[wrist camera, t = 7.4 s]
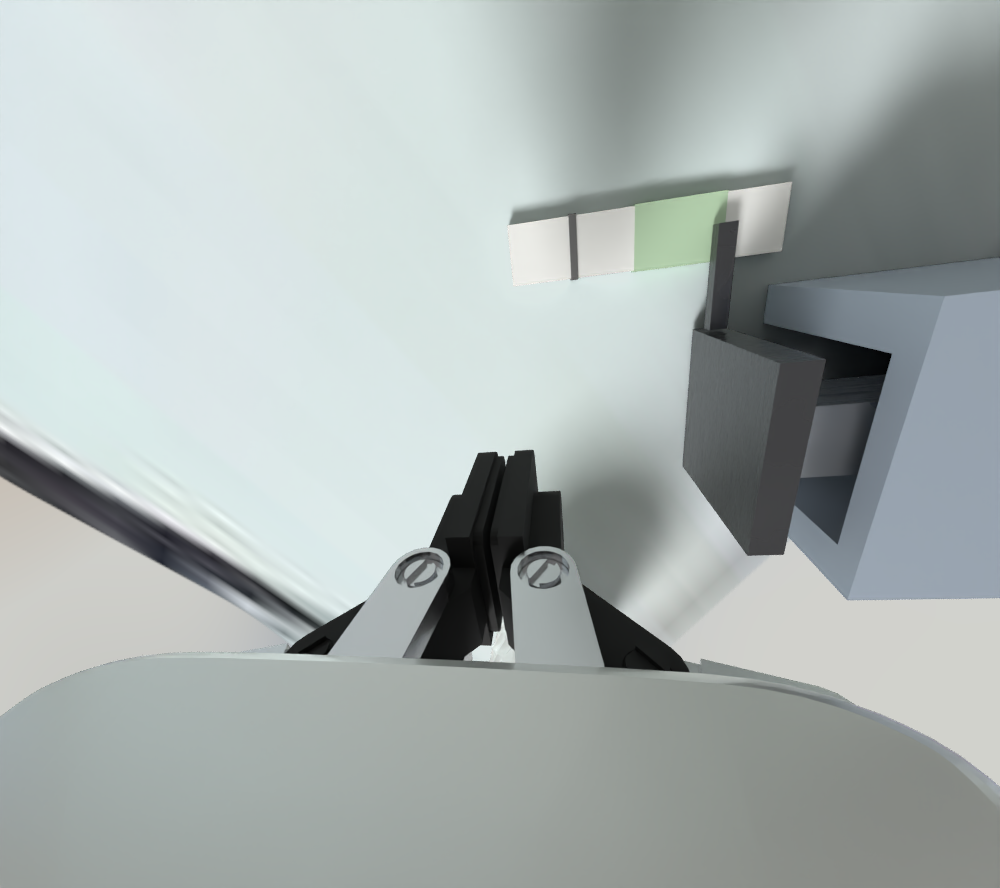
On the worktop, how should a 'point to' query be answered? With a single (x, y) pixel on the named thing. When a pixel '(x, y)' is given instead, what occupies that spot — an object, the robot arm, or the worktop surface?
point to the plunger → (764, 417)
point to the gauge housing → (902, 404)
